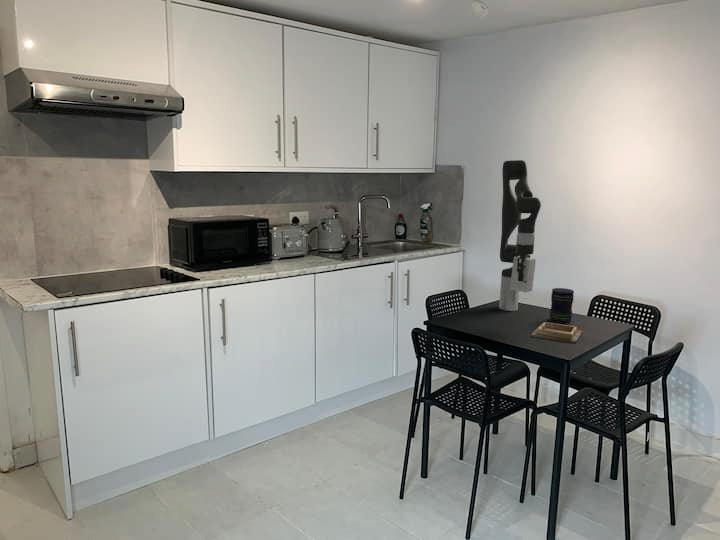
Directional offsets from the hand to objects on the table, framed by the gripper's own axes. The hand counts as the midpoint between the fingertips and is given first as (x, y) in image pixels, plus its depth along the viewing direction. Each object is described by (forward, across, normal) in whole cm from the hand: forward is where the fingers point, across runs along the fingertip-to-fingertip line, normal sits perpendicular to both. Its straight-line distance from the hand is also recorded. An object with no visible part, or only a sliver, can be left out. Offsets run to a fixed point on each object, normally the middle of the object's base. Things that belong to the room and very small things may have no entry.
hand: (522, 279), depth 246 cm
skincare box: (+5, 0, 0) cm, 5 cm away
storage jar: (+22, -23, +14) cm, 35 cm away
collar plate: (+22, +2, +17) cm, 28 cm away
